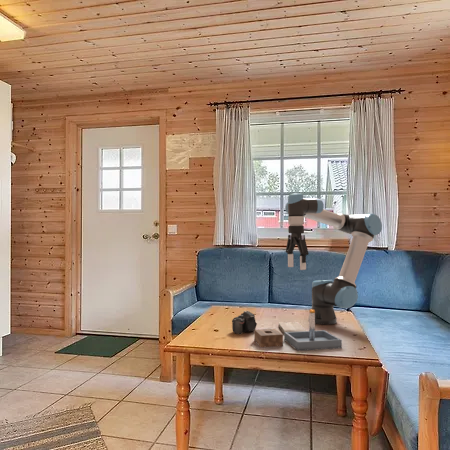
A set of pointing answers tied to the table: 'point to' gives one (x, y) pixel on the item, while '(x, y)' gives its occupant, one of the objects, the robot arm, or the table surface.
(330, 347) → the tray
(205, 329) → the table surface
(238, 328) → the camera
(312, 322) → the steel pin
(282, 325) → the washcloth
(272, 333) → the block
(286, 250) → the robot arm
